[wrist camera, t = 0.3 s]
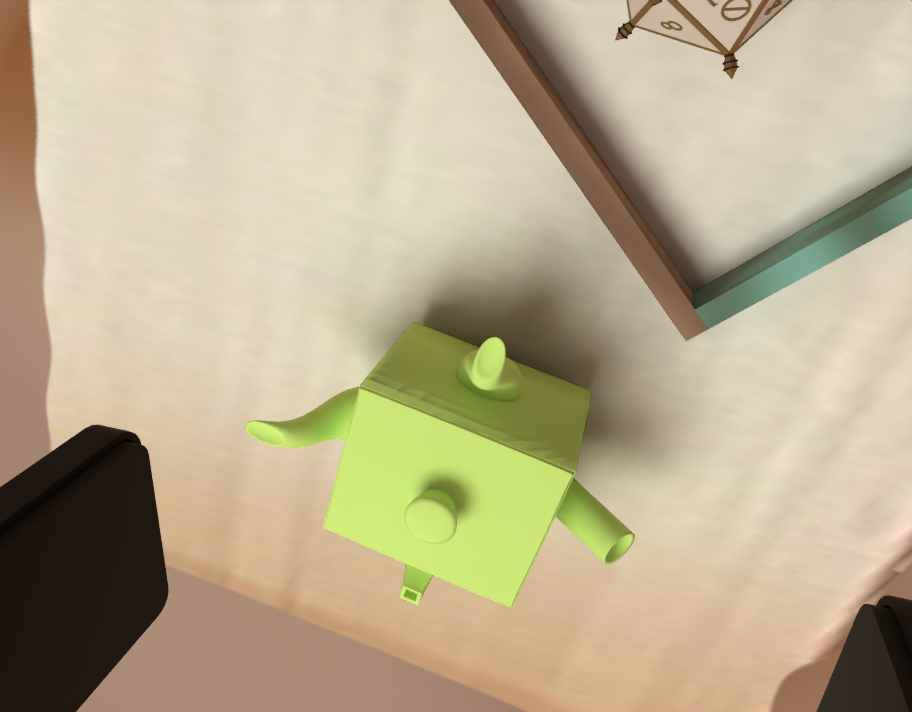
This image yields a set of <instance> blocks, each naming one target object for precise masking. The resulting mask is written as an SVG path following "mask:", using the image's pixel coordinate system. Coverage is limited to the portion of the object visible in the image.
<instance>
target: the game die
mask: <svg viewBox="0 0 912 712" xmlns="http://www.w3.org/2000/svg"><path fill="white" fill-rule="evenodd" d="M791 1H792V0H627V6H628V13H629V19H630V21H629V22H628V23H626V24H624V23H623V26H622V27H621V28H620V27H619V28H618V33H617V36H616V39H615V40H619V39H623V38H626V39H627V38H628V37H627V36H628V35H629V34H632V30H633V29H634V28H635V27H637V28H640V29H643V30H646V31H649V32H652V33H656V34H659V35H662V36H665V37H668V38H671V39H674V40H677V41H680V42H684V43H687V44H690V45H693V46H696V47H699V48H702V49H705V50H708V51H712V52H715V53H718V54H721V55H724V57H725V60H724V63H723V65H724V69H723V71H725V72H726V73H727V74H728V75H729V77H730V78H731V79H732V78H733V76H734V74H735V72H736V69H737V68H738V67H739V66H737V61H738V60H736V59H735V56H734V53H735V52H736V51H737V50H738V49H739V48H740V47H741V46H742V45H744V44H745V43H746V42H747V41H748V40H749V39H750V38H751V37H752V36H754V35H755V34H756V33H757V32H758V31H759V30H760V29H761V28H762V27H764V26H765V25H766V24H767V23H768V22H769V21H770V20H771V19H772V18H773V17H775V16H776V15H777V14H778V13H779V12H780V11H781V10H782V9H783V8H785V7H786V6H787V5H788V4H789V3H790V2H791Z"/></svg>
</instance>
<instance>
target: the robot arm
mask: <svg viewBox="0 0 912 712" xmlns="http://www.w3.org/2000/svg"><path fill="white" fill-rule="evenodd" d="M167 597H168V582H167V575H166V568H165V561H164V554H163V547H162V541H161V534H160V527H159V520H158V513H157V507H156V500H155V493H154V486H153V480H152V473H151V466H150V459H149V454H148V450H147V449H146V447H145V446H143V445H141V442H140V439H139V438H138V436H137V435H136V434H134V433H132V432H129V431H125V430H120V429H116V428H111V427H106V426H102V425H91V426H89V427H87V428H85V429H84V430H82V431H81V432H79V433H78V434H76V435H75V436H73V437H72V438H71V439H69V440H68V441H66V442H65V443H63V444H62V445H61V446H59V447H58V448H56V449H55V450H53V451H52V452H50V453H49V454H48V455H46V456H45V457H43V458H42V459H40V460H39V461H37V462H36V463H35V464H33V465H32V466H30V467H29V468H27V469H26V470H25V471H23V472H22V473H20V474H19V475H17V476H16V477H14V478H13V479H11V480H10V481H9V482H7V483H6V484H4V485H3V486H1V487H0V712H76V711H77V710H78V709H79V708H80V706H81V705H82V704H83V703H84V702H85V701H86V699H87V698H88V697H89V696H90V695H91V694H92V692H93V691H94V690H95V689H96V688H97V686H99V684H100V683H101V682H102V681H103V679H105V677H106V676H107V675H108V674H109V672H111V670H112V669H113V668H114V667H115V666H116V665H117V663H118V662H119V661H120V660H121V659H122V658H123V656H124V655H125V654H126V653H127V651H129V649H130V648H131V647H132V646H133V645H134V644H135V642H136V641H137V640H138V639H139V638H140V636H141V635H142V634H143V633H144V632H145V630H147V628H148V627H149V626H150V625H151V624H152V623H153V621H154V620H155V619H156V618H157V617H158V616H159V614H160V613H161V611H162V609H163V608H164V606H165V603H166V600H167ZM817 712H912V600H907V599H903V598H898V597H893V596H883V597H882V598H881V599H880V600H879V601H878V603H877V605H876V606H874V605H870V604H864V605H863V606H862V607H861V608H860V609H859V611H858V613H857V616H856V618H855V620H854V623H853V625H852V628H851V630H850V633H849V635H848V637H847V640H846V642H845V645H844V647H843V649H842V652H841V654H840V657H839V659H838V661H837V664H836V666H835V669H834V671H833V673H832V676H831V678H830V681H829V683H828V686H827V688H826V690H825V693H824V695H823V698H822V700H821V702H820V705H819V708H818V710H817Z"/></svg>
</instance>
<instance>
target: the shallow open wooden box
mask: <svg viewBox="0 0 912 712" xmlns="http://www.w3.org/2000/svg"><path fill="white" fill-rule="evenodd" d="M449 1H450V3H451V4H452V5H453V7H454V8H455V10H456V11H457V13H458V14H459V16H460V17H461V18H462V20H463V21H464V23H465V24H466V26H467V27H468V28H469V30H470V31H471V33H472V34H473V36H474V37H475V39H476V40H477V41H478V43H479V44H480V46H481V47H482V49H483V50H484V51H485V53H486V54H487V56H488V57H489V59H490V60H491V62H492V63H493V64H494V66H495V67H496V69H497V70H498V72H499V73H500V74H501V76H502V77H503V79H504V80H505V82H506V83H507V85H508V86H509V87H510V89H511V90H512V92H513V93H514V95H515V96H516V97H517V99H518V100H519V102H520V103H521V105H522V106H523V108H524V109H525V110H526V112H527V113H528V115H529V116H530V118H531V119H532V120H533V122H534V123H535V125H536V126H537V128H538V129H539V131H540V132H541V133H542V135H543V136H544V138H545V139H546V141H547V142H548V143H549V145H550V146H551V148H552V149H553V151H554V152H555V154H556V155H557V156H558V158H559V159H560V161H561V162H562V164H563V165H564V166H565V168H566V169H567V171H568V172H569V174H570V175H571V177H572V178H573V179H574V181H575V182H576V184H577V185H578V187H579V188H580V189H581V191H582V192H583V194H584V195H585V197H586V198H587V200H588V201H589V202H590V204H591V205H592V207H593V208H594V210H595V211H596V212H597V214H598V215H599V217H600V218H601V220H602V221H603V222H604V224H605V225H606V227H607V228H608V230H609V231H610V233H611V234H612V235H613V237H614V238H615V240H616V241H617V243H618V244H619V245H620V247H621V248H622V250H623V251H624V253H625V254H626V256H627V257H628V258H629V260H630V261H631V263H632V264H633V266H634V267H635V268H636V270H637V271H638V273H639V274H640V276H641V277H642V279H643V280H644V281H645V283H646V284H647V286H648V287H649V289H650V290H651V291H652V293H653V294H654V296H655V297H656V299H657V300H658V302H659V303H660V304H661V306H662V307H663V309H664V310H665V312H666V313H667V314H668V316H669V317H670V319H671V320H672V322H673V323H674V325H675V326H676V327H677V329H678V330H679V332H680V333H681V335H682V336H683V337H684V339H685V340H686V341H687V340H689V339H691V338H693V337H695V336H697V335H698V334H700V333H702V332H704V331H706V330H708V329H709V328H711V327H713V326H715V325H717V324H719V323H720V322H722V321H724V320H726V319H728V318H730V317H731V316H733V315H735V314H737V313H739V312H741V311H743V310H744V309H746V308H748V307H750V306H752V305H754V304H755V303H757V302H759V301H761V300H763V299H765V298H766V297H768V296H770V295H772V294H774V293H776V292H777V291H779V290H781V289H783V288H785V287H787V286H788V285H790V284H792V283H794V282H796V281H798V280H799V279H801V278H803V277H805V276H807V275H809V274H810V273H812V272H814V271H816V270H818V269H820V268H822V267H823V266H825V265H827V264H829V263H831V262H833V261H834V260H836V259H838V258H840V257H842V256H844V255H845V254H847V253H849V252H851V251H853V250H855V249H856V248H858V247H860V246H862V245H864V244H866V243H867V242H869V241H871V240H873V239H875V238H877V237H878V236H880V235H882V234H884V233H886V232H888V231H889V230H891V229H893V228H895V227H897V226H899V225H901V224H902V223H904V222H906V221H908V220H910V219H912V167H911V168H909V169H907V170H905V171H904V172H902V173H900V174H898V175H897V176H895V177H893V178H891V179H890V180H888V181H886V182H884V183H883V184H881V185H879V186H878V187H876V188H874V189H872V190H871V191H869V192H867V193H865V194H864V195H862V196H860V197H858V198H857V199H855V200H853V201H851V202H850V203H848V204H846V205H845V206H843V207H841V208H839V209H838V210H836V211H834V212H832V213H831V214H829V215H827V216H825V217H824V218H822V219H820V220H818V221H817V222H815V223H813V224H811V225H810V226H808V227H806V228H805V229H803V230H801V231H799V232H798V233H796V234H794V235H792V236H791V237H789V238H787V239H785V240H784V241H782V242H780V243H778V244H777V245H775V246H773V247H772V248H770V249H768V250H766V251H765V252H763V253H761V254H759V255H758V256H756V257H754V258H752V259H751V260H749V261H747V262H745V263H744V264H742V265H740V266H738V267H737V268H735V269H733V270H732V271H730V272H728V273H726V274H725V275H723V276H721V277H719V278H718V279H716V280H714V281H712V282H711V283H709V284H707V285H705V286H704V287H702V288H700V289H698V290H697V291H695V292H692V290H691V289H690V287H689V286H688V284H687V283H686V281H685V280H684V279H683V277H682V276H681V274H680V273H679V271H678V270H677V268H676V267H675V265H674V264H673V262H672V261H671V259H670V258H669V257H668V255H667V254H666V252H665V251H664V249H663V248H662V246H661V245H660V243H659V242H658V240H657V239H656V237H655V236H654V235H653V233H652V232H651V230H650V229H649V227H648V226H647V224H646V223H645V221H644V220H643V218H642V217H641V216H640V214H639V213H638V211H637V210H636V208H635V207H634V205H633V204H632V202H631V201H630V199H629V198H628V196H627V195H626V194H625V192H624V191H623V189H622V188H621V186H620V185H619V183H618V182H617V180H616V179H615V177H614V176H613V174H612V173H611V172H610V170H609V169H608V167H607V166H606V164H605V163H604V161H603V160H602V158H601V157H600V155H599V154H598V152H597V151H596V150H595V148H594V147H593V145H592V144H591V142H590V141H589V139H588V138H587V136H586V135H585V133H584V132H583V130H582V129H581V128H580V126H579V125H578V123H577V122H576V120H575V119H574V117H573V116H572V114H571V113H570V111H569V110H568V109H567V107H566V106H565V104H564V103H563V101H562V100H561V98H560V97H559V95H558V94H557V92H556V91H555V89H554V88H553V87H552V85H551V84H550V82H549V81H548V79H547V78H546V76H545V75H544V73H543V72H542V70H541V69H540V67H539V66H538V65H537V63H536V62H535V60H534V59H533V57H532V56H531V54H530V53H529V51H528V50H527V48H526V47H525V45H524V44H523V43H522V41H521V40H520V38H519V37H518V35H517V34H516V32H515V31H514V29H513V28H512V26H511V25H510V24H509V22H508V21H507V19H506V18H505V16H504V15H503V13H502V12H501V10H500V9H499V7H498V6H497V4H496V3H495V2H494V0H449Z"/></svg>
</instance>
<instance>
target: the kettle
mask: <svg viewBox="0 0 912 712" xmlns="http://www.w3.org/2000/svg"><path fill="white" fill-rule="evenodd" d="M591 393H592V391H590V390H588V389H585V388H583V387H580V386H577V385H575V384H572V383H570V382H567V381H565V380H562V379H560V378H557V377H555V376H552V375H551V374H549V373H546V372H542V371H539V370H537V369H534V368H532V367H529V366H526V365H524V364H521V363H519V362H516V361H514V360H511V359H509V358H507V357H506V349H505V345H504V343H503V341H502V340H501V339H500V338H498V337H491V338H489V339H487V340H486V341H485V342H484V343H483V344H482V345H481V347H478V346H475V345H473V344H470V343H468V342H465V341H463V340H461V339H459V338H456V337H452V336H450V335H447V334H444V333H442V332H439V331H437V330H434V329H431V328H429V327H426V326H424V325H421V324H419V323H416V322H413V323H412V324H411V325H410V326H409V328H408V329H407V330H406V331H405V332H404V333H403V335H402V336H401V337H400V338H399V339H398V341H397V342H396V343H395V344H394V345H393V346H392V348H391V349H390V350H389V351H388V352H387V354H386V355H385V356H384V357H383V358H382V359H381V361H380V362H379V363H378V364H377V365H376V367H375V368H374V369H373V370H372V371H371V372H370V374H369V375H368V376H367V377H366V378H365V379H364V381H363V382H362V383H361V384H360V387H356V388H352V389H348V390H346V391H344V392H342V393H339V394H337V395H336V396H334V397H332V398H331V399H329V400H328V401H326V402H325V403H323V404H322V405H320V406H319V407H317V408H316V409H314V410H313V411H311V412H309V413H307V414H306V415H304V416H302V417H299V418H296V419H293V420H289V421H282V422H272V421H250V422H248V423H246V425H245V429H246V431H247V432H248V433H249V434H250V435H251V436H252V437H254V438H255V439H257V440H259V441H261V442H263V443H266V444H269V445H272V446H276V447H282V448H298V447H305V446H309V445H313V444H316V443H319V442H323V441H326V440H332V439H343V440H345V444H344V448H343V452H342V456H341V459H340V463H339V467H338V471H337V475H336V479H335V482H334V486H333V490H332V494H331V498H330V502H329V505H328V509H327V513H326V517H325V521H324V525H323V527H324V528H326V529H328V530H330V531H332V532H335V533H337V534H339V535H341V536H344V537H346V538H348V539H350V540H353V541H355V542H357V543H359V544H362V545H364V546H366V547H369V548H371V549H373V550H376V551H378V552H380V553H383V554H385V555H387V556H389V557H392V558H394V559H396V560H399V561H401V562H403V563H406V566H405V573H404V580H403V587H402V592H401V595H400V598H402V599H404V600H406V601H409V602H411V603H413V604H416V605H418V604H419V601H420V600H421V598H422V596H423V594H424V592H425V590H426V588H427V586H428V584H429V582H430V580H431V578H432V576H433V575H434V576H436V577H438V578H441V579H443V580H445V581H448V582H450V583H453V584H455V585H457V586H460V587H462V588H464V589H467V590H469V591H471V592H474V593H476V594H479V595H481V596H483V597H486V598H488V599H491V600H493V601H495V602H498V603H500V604H503V605H505V606H508V607H513V605H514V603H515V601H516V599H517V597H518V594H519V592H520V590H521V588H522V586H523V584H524V582H525V579H526V577H527V575H528V573H529V571H530V569H531V567H532V565H533V562H534V560H535V558H536V556H537V554H538V552H539V550H540V547H541V545H542V543H543V541H544V539H545V537H546V535H547V533H548V530H549V528H550V526H551V524H552V522H553V520H554V518H555V516H556V517H557V518H558V519H559V520H560V521H561V522H562V523H563V524H564V525H565V526H566V527H567V528H568V529H569V530H570V531H571V532H572V533H574V534H575V535H576V536H577V537H578V538H579V539H580V540H581V541H582V542H583V543H584V544H585V545H586V546H587V547H588V548H589V549H590V550H592V551H593V552H594V553H595V554H596V555H597V556H598V557H599V558H600V559H601V560H602V561H603V562H604V563H605V564H611V563H613V562H615V561H617V560H618V559H619V558H620V557H622V556H623V555H624V554H625V553H626V551H627V550H628V549H629V548H630V546H631V545H632V543H633V541H634V537H635V535H634V534H633V533H632V532H631V531H630V530H629V529H628V528H627V527H626V526H625V525H624V524H623V523H622V522H620V521H619V520H618V519H617V518H616V517H615V516H614V515H613V514H612V513H611V512H610V511H609V510H607V509H606V508H605V507H604V506H603V505H602V504H601V503H600V502H599V501H598V500H597V499H596V498H595V497H593V496H592V495H591V494H590V493H589V492H588V491H587V490H586V489H585V488H584V487H583V486H582V485H580V484H579V483H578V482H577V481H576V480H575V479H574V478H573V477H574V475H575V473H576V469H577V464H578V459H579V454H580V449H581V444H582V439H583V434H584V429H585V424H586V419H587V414H588V409H589V404H590V398H591Z"/></svg>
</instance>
